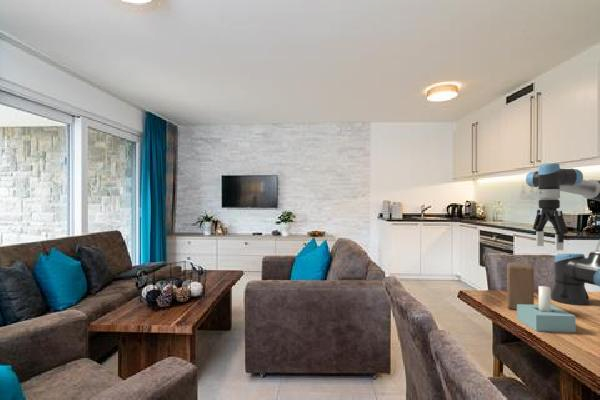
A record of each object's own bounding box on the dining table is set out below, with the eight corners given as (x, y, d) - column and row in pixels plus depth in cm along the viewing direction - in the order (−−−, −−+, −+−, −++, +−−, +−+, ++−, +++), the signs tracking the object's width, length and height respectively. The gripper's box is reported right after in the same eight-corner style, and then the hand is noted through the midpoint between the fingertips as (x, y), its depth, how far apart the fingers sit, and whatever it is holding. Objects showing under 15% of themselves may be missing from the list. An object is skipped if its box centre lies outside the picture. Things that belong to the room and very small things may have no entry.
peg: (546, 320, 141) (546, 286, 142) (553, 324, 137) (553, 288, 138) (536, 320, 142) (536, 285, 142) (542, 324, 138) (542, 288, 138)
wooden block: (533, 312, 154) (533, 267, 154) (507, 309, 160) (507, 265, 160) (533, 306, 163) (532, 263, 163) (508, 303, 168) (507, 262, 168)
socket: (552, 319, 146) (552, 305, 146) (575, 332, 132) (575, 316, 132) (517, 318, 147) (516, 304, 147) (536, 331, 133) (536, 315, 133)
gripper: (524, 199, 165) (524, 244, 165) (558, 199, 140) (558, 252, 141) (541, 199, 165) (541, 244, 165) (578, 199, 140) (578, 252, 140)
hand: (549, 248), depth 153 cm, fingers open, 13 cm apart
